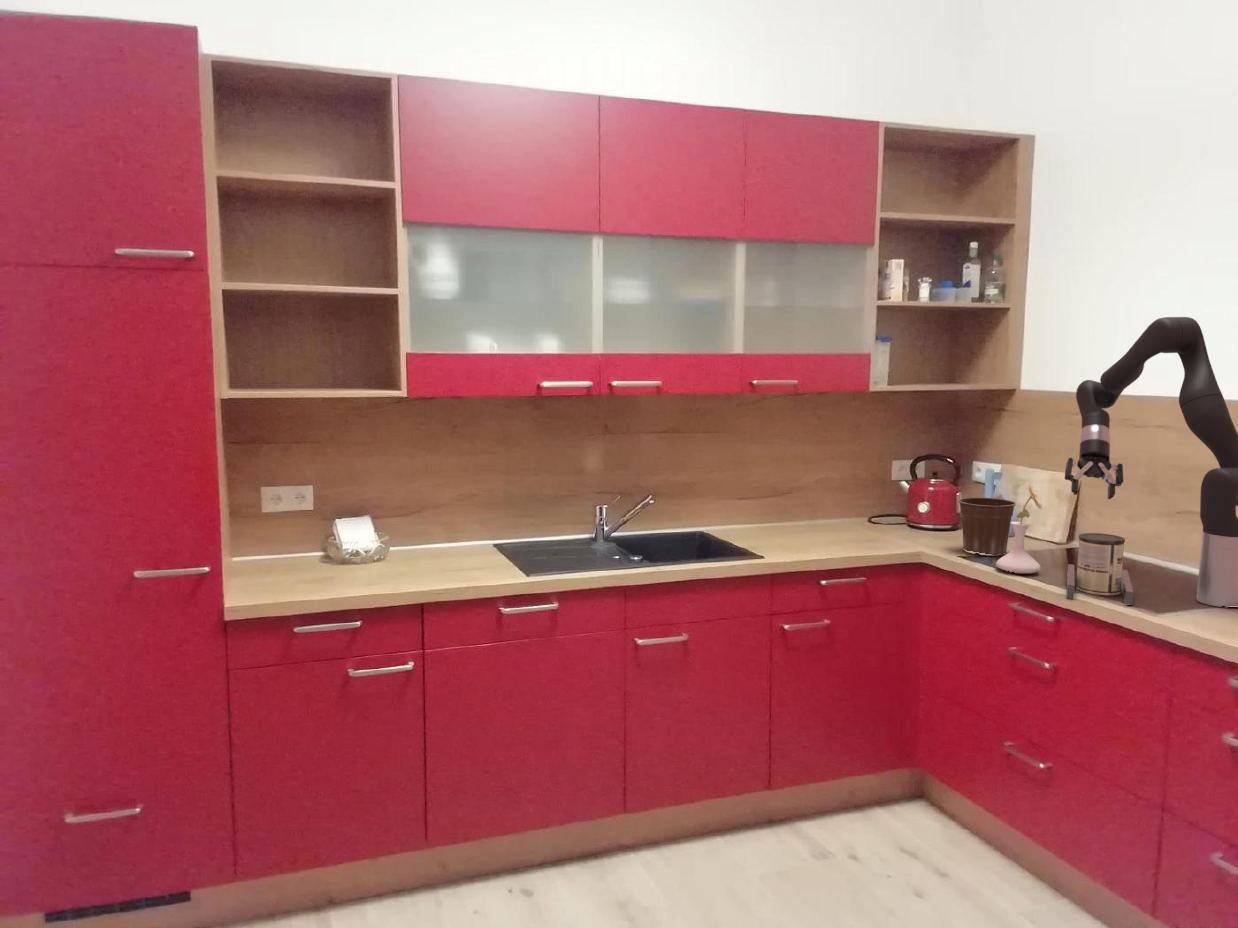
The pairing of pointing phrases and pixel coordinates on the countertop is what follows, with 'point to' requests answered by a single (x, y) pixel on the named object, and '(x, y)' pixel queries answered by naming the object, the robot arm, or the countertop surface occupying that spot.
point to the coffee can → (1100, 564)
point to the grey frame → (1125, 585)
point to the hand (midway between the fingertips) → (1092, 495)
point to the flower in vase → (1021, 544)
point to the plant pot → (986, 524)
